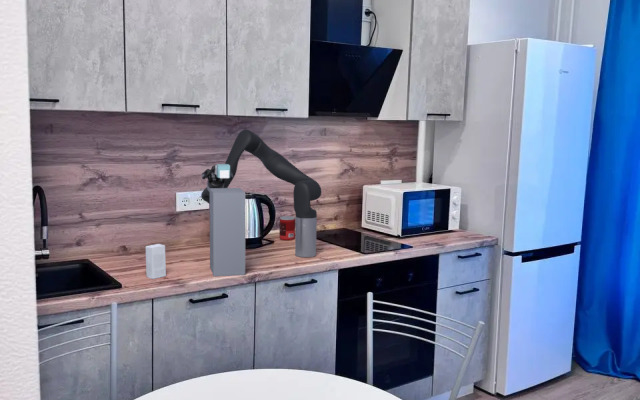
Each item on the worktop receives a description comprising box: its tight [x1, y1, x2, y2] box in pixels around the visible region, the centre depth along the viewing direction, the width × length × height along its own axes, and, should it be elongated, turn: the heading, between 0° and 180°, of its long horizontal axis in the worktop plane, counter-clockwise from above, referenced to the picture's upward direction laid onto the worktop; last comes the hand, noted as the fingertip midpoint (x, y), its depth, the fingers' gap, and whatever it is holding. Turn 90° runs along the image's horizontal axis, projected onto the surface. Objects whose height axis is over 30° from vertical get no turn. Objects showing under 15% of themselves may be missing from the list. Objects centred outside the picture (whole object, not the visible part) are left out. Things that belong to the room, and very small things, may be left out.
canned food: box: [278, 215, 296, 242], centre depth 299 cm, size 8×8×11 cm
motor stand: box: [209, 187, 246, 277], centre depth 234 cm, size 14×12×32 cm
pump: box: [215, 163, 230, 178], centre depth 248 cm, size 22×5×5 cm, turn 16°
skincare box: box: [145, 243, 167, 280], centre depth 225 cm, size 6×4×12 cm
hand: (219, 167), depth 254 cm, fingers closed on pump, 3 cm apart
